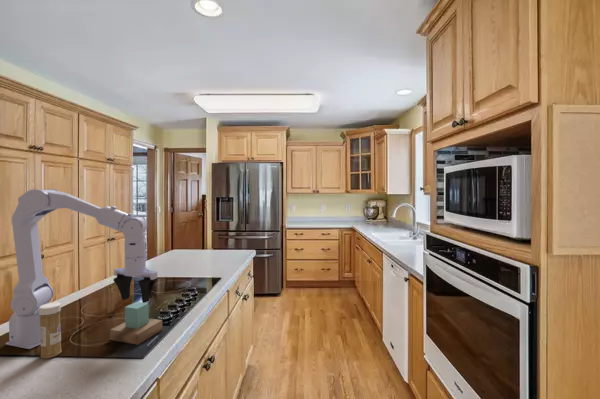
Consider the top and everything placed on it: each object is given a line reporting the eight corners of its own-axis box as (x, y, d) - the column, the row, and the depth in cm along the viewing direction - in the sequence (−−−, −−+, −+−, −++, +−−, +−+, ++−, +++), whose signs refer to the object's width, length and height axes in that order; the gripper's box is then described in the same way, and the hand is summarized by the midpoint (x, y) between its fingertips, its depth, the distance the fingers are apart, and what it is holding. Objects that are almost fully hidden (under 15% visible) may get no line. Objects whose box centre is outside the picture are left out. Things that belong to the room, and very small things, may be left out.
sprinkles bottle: (61, 356, 84) (59, 305, 84) (38, 361, 82) (37, 309, 81) (62, 348, 88) (61, 300, 88) (41, 353, 86) (39, 303, 85)
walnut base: (110, 339, 93) (109, 329, 93) (136, 325, 103) (136, 316, 103) (138, 344, 90) (137, 334, 90) (162, 329, 100) (162, 320, 100)
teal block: (125, 326, 95) (124, 307, 95) (136, 320, 99) (136, 301, 99) (137, 328, 94) (137, 308, 94) (148, 322, 98) (148, 303, 98)
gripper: (164, 255, 99) (164, 298, 100) (126, 252, 103) (127, 293, 104) (147, 260, 92) (147, 306, 93) (107, 256, 96) (108, 301, 97)
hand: (135, 300), depth 98 cm, fingers open, 7 cm apart
